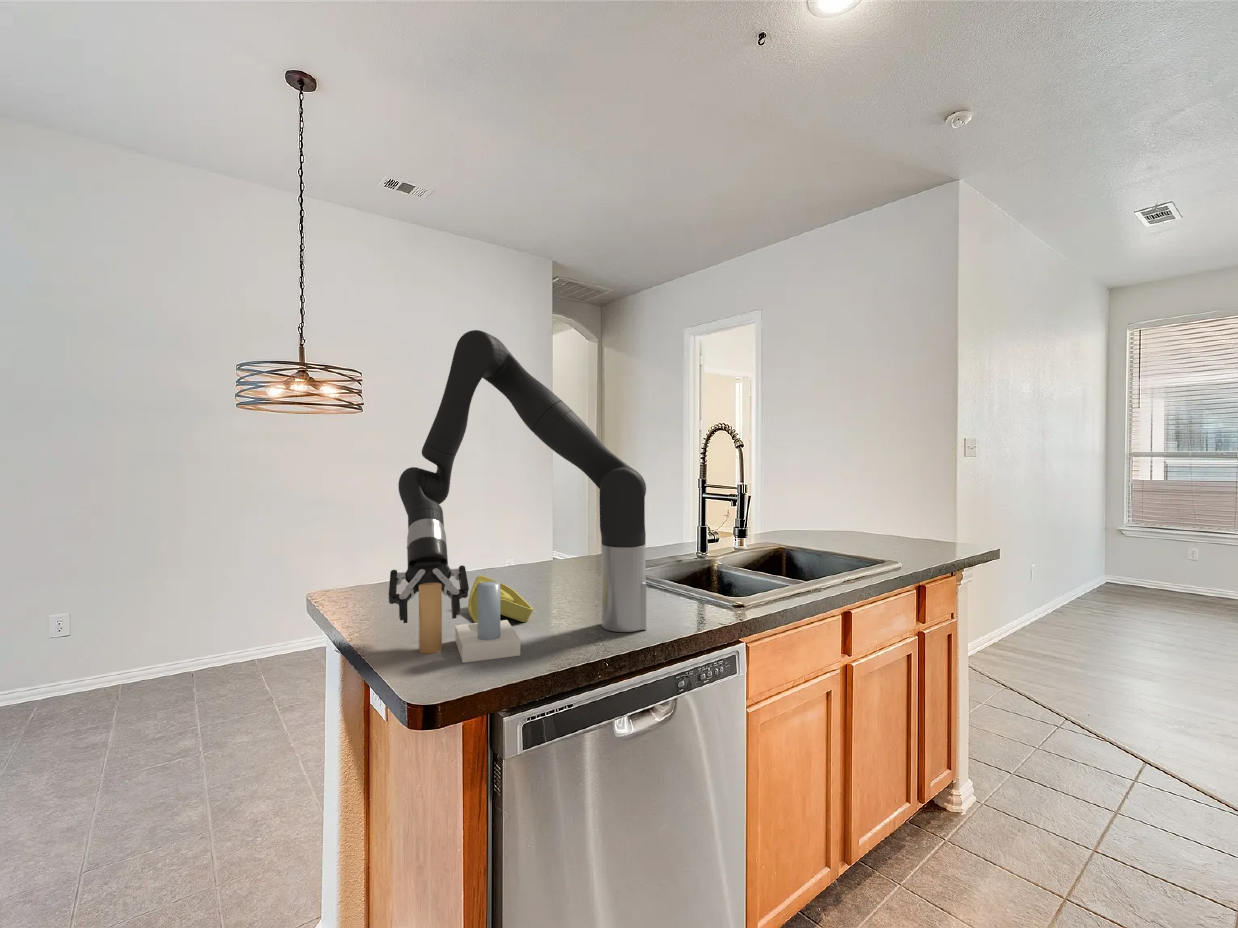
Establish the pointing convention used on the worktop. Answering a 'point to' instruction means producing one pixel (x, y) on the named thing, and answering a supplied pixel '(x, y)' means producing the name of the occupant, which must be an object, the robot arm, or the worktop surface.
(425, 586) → the tan round-top capsule
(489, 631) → the housing
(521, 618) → the plastic component
